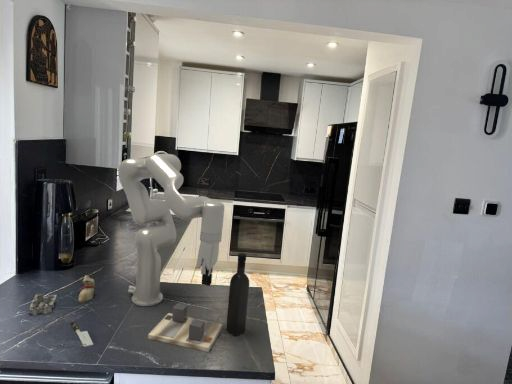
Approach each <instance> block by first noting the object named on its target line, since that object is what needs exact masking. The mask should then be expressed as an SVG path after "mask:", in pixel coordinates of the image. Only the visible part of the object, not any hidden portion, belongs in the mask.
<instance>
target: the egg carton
mask: <svg viewBox="0 0 512 384" xmlns="http://www.w3.org/2000/svg"><path fill="white" fill-rule="evenodd" d="M56 298H57V294H51V295H50V294H47V296H44V294H40V293H39V294H38V292H37V293H36V294H35V296H34V297H33V300H32V301H31V303H30V306H29V311H30V314H31V315H33V316H37V315H38V314H43V315H47V314H49V313H52V310H53V309H52V308H54V305H55V303H56ZM38 303H39V304H38Z"/></svg>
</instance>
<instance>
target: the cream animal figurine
mask: <svg viewBox="0 0 512 384" xmlns="http://www.w3.org/2000/svg"><path fill="white" fill-rule="evenodd" d="M83 277H84V278H83V280H82V284H84V286H82V290H80V293H79V295H78V303H79V304H80V303H85V302H88V301H90V300H92V299H93V297H94V292H95V289H96V288H95V287H96V283H95V280H94V278H91V277H90V276H88V275H87V274H86V275H84V276H83Z"/></svg>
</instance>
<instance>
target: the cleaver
mask: <svg viewBox="0 0 512 384" xmlns="http://www.w3.org/2000/svg"><path fill="white" fill-rule="evenodd" d="M70 325H71V327H72V329H73V330H74V332H75V333H76V334H77V336H78V338H79V340H80V342H81V344H82V346H83V348H86V347H90V346H93V345H94V342H93V340H92V339H91V337H90V334H89V333H88V332H89V331H88V330H85V331H81V329H80V327H79V325H78V323H77V321H76V320H72V321H71V322H70Z"/></svg>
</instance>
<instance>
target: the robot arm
mask: <svg viewBox="0 0 512 384" xmlns="http://www.w3.org/2000/svg"><path fill="white" fill-rule="evenodd" d="M181 169H182V163H181V160H180V158H179V157H177V155H175V154H171V153H155V154H154V153H153V154H151V155H149V156H148V157H132V158H126V159H124V160H123V161H121V162H120V164H119V166H118V169H117V171H118V172H117V173H118V174H117V175H118V180H119V183H120V185H121V187H122V190H123V191H124V193H125V196H126V200H127V203H128V207H129V210H130V213H131V217H132V219H133V222H134V223H135V224H137V225H148V224H153V223H155V225H150V226H145V227H142V228H140V229H139V230H138V231H137V232H136V233H135V236H134V242H135V249H136V280H135V282H136V283H135V285H129V286H128V290H127V293H130V294H132V296H131V302H132V304H134V305H136V306H139V307H153V306H156V305H158V304H159V303H161V302H163V299H164V296H163V293H162V292H160V291H161V288H160V287H161V270H162V269H161V267H162V265H161V264H162V260H161V255H160V254H159V253H158V249H160V248H163V247H167V246H170V245H172V244H174V242H175V241H176V240H177V229H176V226H175V223H174V218H173V215H172V213H173V214H174V215H175V216H176V217H178V219H180V220H182V221H183V220H184V221H188V220H193V219H196V218H197V219H198V218H201V221H200V222H201V223H200V233H199V240H200V244H199V247H198V253H197V260H196V269H200V268H201V271H200V274H201V275H202V276H201V285H202V286H203V285H204V286H207V287H210V285H211V284H212V280H213V271H214V266H215V265H216V264H217V262H218V260H219V253H220V251H219V250H220V243H221V242H222V238H223V237H222V236H223V226H224V216H225V204H224V203H223V202H221V201H217V200H213V199H211V198H210V197H208V196H204V195H200V196H192V197H184V196H182V194H180V192H179V189H180V188H181V187H182V185H183V183H184V176H183V174H182V173H181V172H180V171H181ZM140 179H142V180H143V179H154V180H155V181H156V182H157V183H158V184H159V186H160V187H162V188H163V191H164V192H163V197H164V200H165V201H164V200H162V199H151V197H150V196H149V192H148V189H147V188H146V187H145V185H144V184H143V183H142V182H141V181H140Z"/></svg>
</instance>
